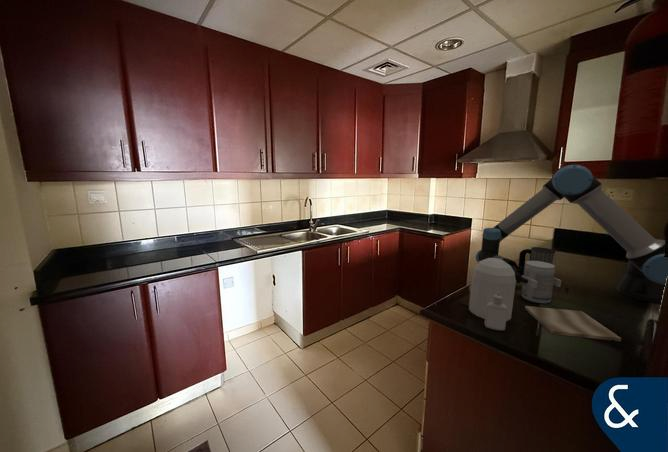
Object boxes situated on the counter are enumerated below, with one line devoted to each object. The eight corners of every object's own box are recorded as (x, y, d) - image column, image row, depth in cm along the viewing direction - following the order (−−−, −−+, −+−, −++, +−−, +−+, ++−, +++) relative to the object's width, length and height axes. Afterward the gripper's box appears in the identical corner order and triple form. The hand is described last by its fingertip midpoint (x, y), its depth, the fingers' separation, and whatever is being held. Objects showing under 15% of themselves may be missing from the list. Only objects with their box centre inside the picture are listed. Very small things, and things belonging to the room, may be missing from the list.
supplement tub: (554, 300, 106) (560, 265, 103) (545, 306, 100) (550, 269, 98) (526, 292, 114) (531, 258, 111) (516, 297, 108) (520, 262, 106)
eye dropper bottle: (501, 333, 82) (506, 297, 80) (482, 326, 87) (486, 291, 85) (506, 328, 85) (511, 293, 83) (487, 321, 89) (491, 287, 87)
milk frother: (551, 278, 130) (556, 249, 127) (549, 288, 118) (554, 255, 116) (516, 271, 139) (520, 244, 137) (511, 280, 127) (515, 250, 125)
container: (516, 324, 88) (524, 266, 84) (470, 317, 92) (476, 261, 89) (505, 307, 100) (512, 255, 97) (466, 301, 105) (471, 251, 101)
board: (581, 313, 95) (581, 311, 95) (620, 341, 79) (621, 338, 79) (524, 308, 99) (525, 305, 99) (551, 333, 83) (551, 330, 82)
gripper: (523, 272, 125) (572, 292, 103) (480, 274, 122) (520, 295, 100) (526, 257, 124) (575, 273, 102) (482, 258, 121) (523, 276, 99)
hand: (548, 284), depth 101 cm, fingers closed on supplement tub, 9 cm apart
